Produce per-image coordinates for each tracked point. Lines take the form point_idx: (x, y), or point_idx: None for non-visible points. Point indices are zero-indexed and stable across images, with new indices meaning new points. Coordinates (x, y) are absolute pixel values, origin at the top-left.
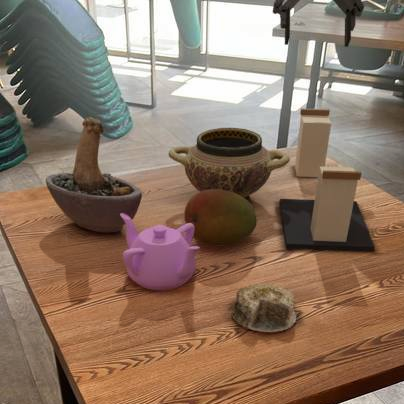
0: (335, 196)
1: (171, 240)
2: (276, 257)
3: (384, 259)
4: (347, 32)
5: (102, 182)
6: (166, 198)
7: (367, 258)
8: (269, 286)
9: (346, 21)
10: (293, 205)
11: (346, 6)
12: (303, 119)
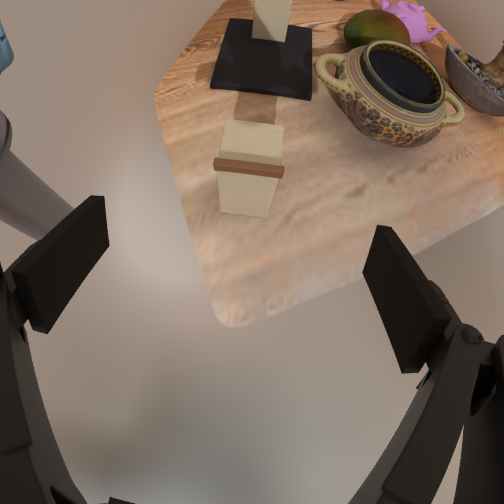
0: None
1: (402, 3)
2: (319, 25)
3: (225, 14)
4: (89, 210)
5: (481, 67)
6: (437, 136)
7: (239, 16)
8: None
9: (55, 276)
10: (296, 80)
11: (10, 316)
12: (281, 143)
